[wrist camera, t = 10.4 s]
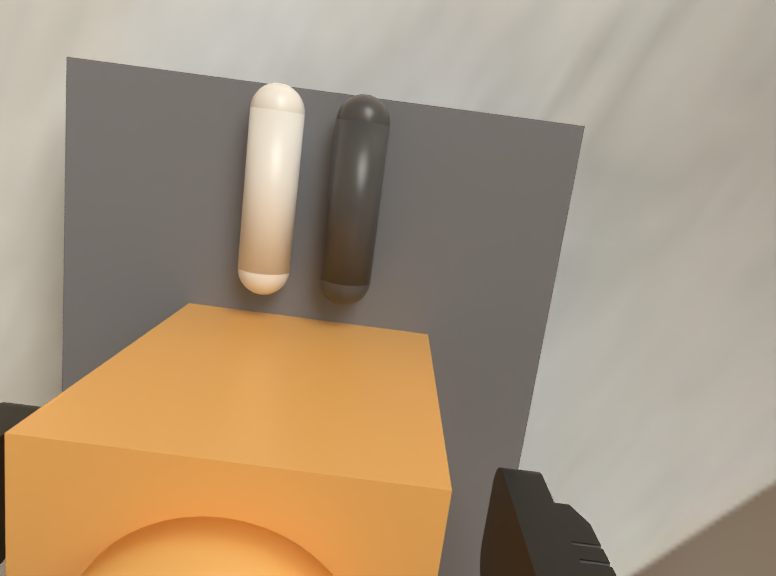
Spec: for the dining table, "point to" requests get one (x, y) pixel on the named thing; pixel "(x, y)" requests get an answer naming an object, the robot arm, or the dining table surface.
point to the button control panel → (322, 235)
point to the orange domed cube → (236, 456)
